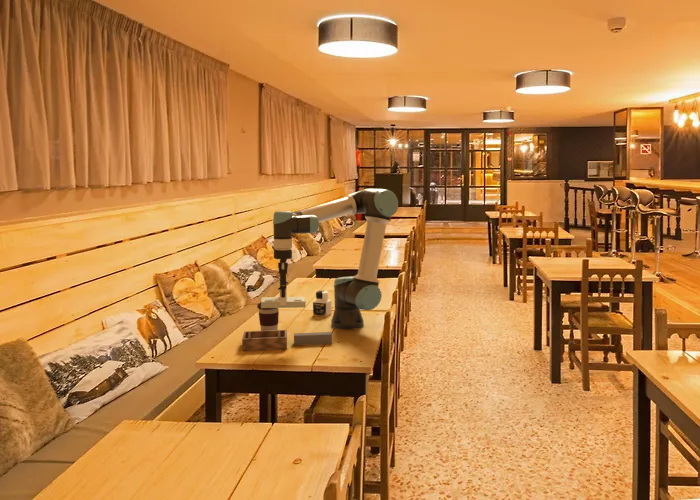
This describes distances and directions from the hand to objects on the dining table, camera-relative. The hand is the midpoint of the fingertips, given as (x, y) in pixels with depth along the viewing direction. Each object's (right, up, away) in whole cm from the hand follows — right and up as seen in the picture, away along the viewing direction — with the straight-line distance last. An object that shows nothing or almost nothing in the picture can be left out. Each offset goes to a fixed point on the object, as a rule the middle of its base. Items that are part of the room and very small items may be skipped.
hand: (283, 302), depth 265 cm
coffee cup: (-9, -16, +23) cm, 30 cm away
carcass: (-8, -19, +3) cm, 20 cm away
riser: (+12, -18, +6) cm, 22 cm away
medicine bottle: (+14, -11, +57) cm, 60 cm away
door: (0, -1, 0) cm, 1 cm away
